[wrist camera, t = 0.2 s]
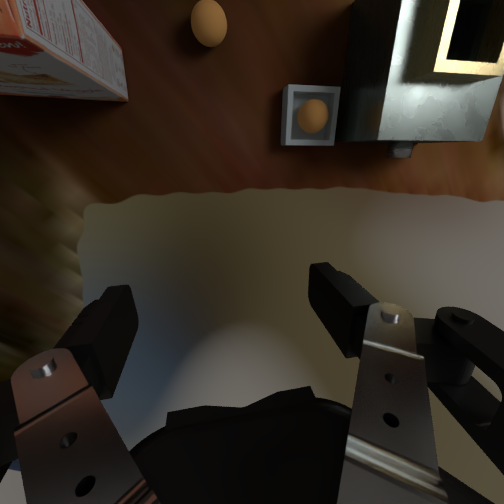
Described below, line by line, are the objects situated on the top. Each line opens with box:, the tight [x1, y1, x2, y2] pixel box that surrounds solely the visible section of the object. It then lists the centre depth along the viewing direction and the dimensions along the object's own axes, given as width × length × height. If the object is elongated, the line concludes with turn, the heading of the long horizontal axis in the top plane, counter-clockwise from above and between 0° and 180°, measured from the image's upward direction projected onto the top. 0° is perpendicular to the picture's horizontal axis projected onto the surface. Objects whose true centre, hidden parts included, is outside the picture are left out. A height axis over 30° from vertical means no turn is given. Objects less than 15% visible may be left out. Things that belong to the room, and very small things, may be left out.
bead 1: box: [191, 0, 227, 47], centre depth 28 cm, size 4×4×4 cm
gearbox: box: [336, 0, 504, 158], centre depth 30 cm, size 18×14×12 cm
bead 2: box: [297, 99, 329, 133], centre depth 33 cm, size 4×4×4 cm
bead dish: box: [281, 84, 341, 146], centre depth 35 cm, size 7×7×2 cm
